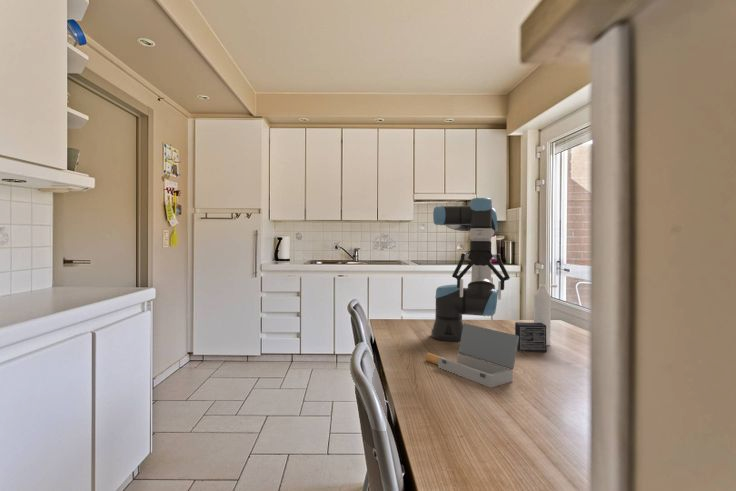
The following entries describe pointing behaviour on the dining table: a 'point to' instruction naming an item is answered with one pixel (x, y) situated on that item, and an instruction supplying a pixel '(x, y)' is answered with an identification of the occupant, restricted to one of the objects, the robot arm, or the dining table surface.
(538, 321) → the water bottle
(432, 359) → the orange cylinder rod
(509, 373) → the hinged pencil case
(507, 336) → the cover
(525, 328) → the small box
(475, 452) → the dining table surface
